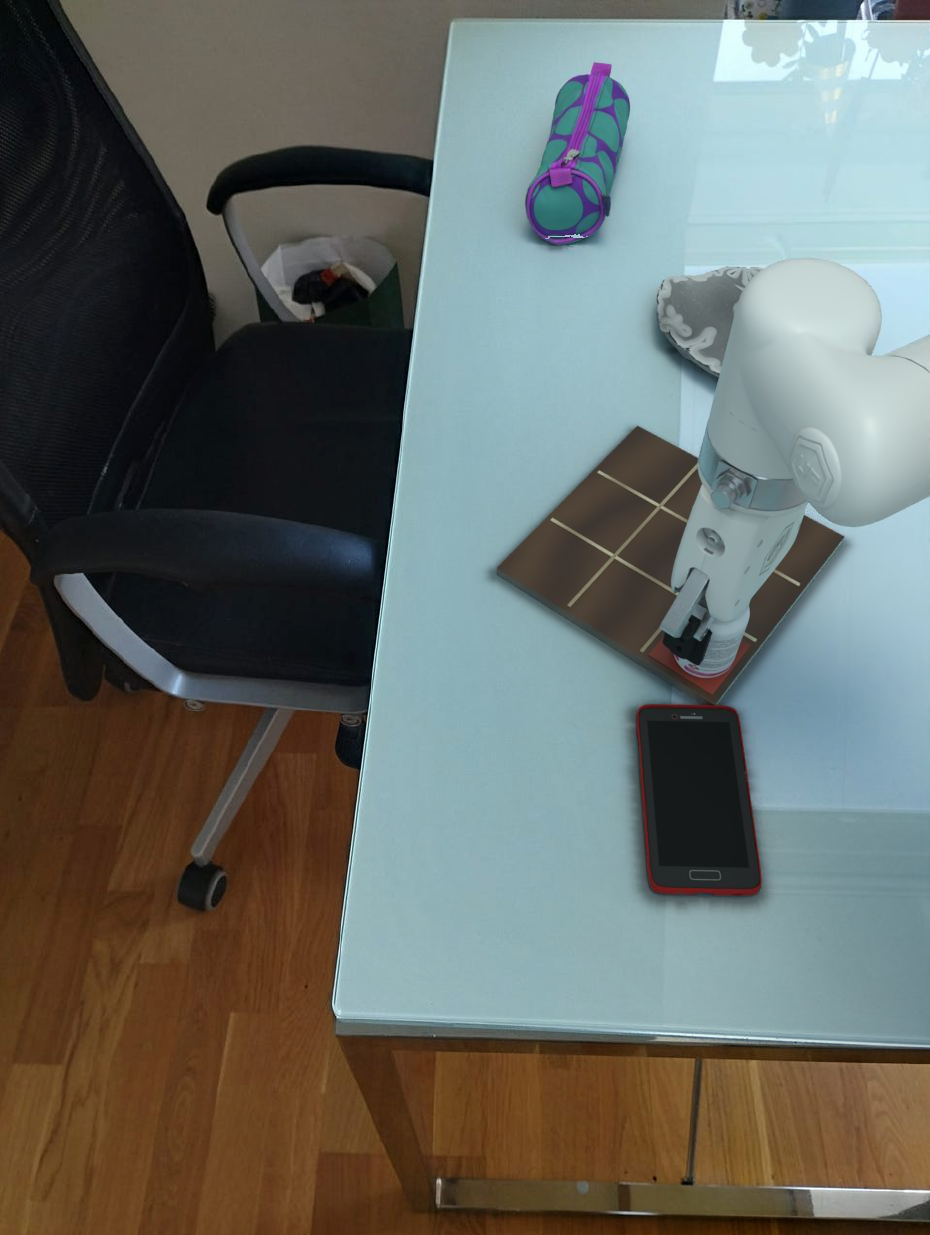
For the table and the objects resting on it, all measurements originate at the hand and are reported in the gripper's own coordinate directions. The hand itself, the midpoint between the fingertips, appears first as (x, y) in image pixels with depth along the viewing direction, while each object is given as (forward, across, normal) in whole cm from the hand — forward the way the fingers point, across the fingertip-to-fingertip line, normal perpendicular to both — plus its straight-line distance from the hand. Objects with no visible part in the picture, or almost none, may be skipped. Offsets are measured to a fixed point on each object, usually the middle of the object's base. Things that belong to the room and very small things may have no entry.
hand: (710, 618), depth 79 cm
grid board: (+5, +7, +7) cm, 11 cm away
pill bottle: (+5, 0, 0) cm, 5 cm away
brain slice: (+6, +34, +15) cm, 38 cm away
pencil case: (+6, +44, +43) cm, 62 cm away
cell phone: (+6, -11, -6) cm, 14 cm away
